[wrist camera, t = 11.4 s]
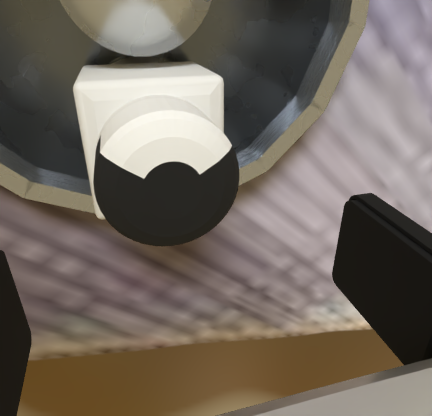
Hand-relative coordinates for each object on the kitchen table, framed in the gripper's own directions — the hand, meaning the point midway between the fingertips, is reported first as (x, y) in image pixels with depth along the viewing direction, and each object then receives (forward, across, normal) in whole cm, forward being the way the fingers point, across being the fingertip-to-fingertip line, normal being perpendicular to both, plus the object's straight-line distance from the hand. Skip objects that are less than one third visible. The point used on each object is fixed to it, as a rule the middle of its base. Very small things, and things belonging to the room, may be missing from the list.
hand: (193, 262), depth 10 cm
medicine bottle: (+17, 0, 0) cm, 17 cm away
